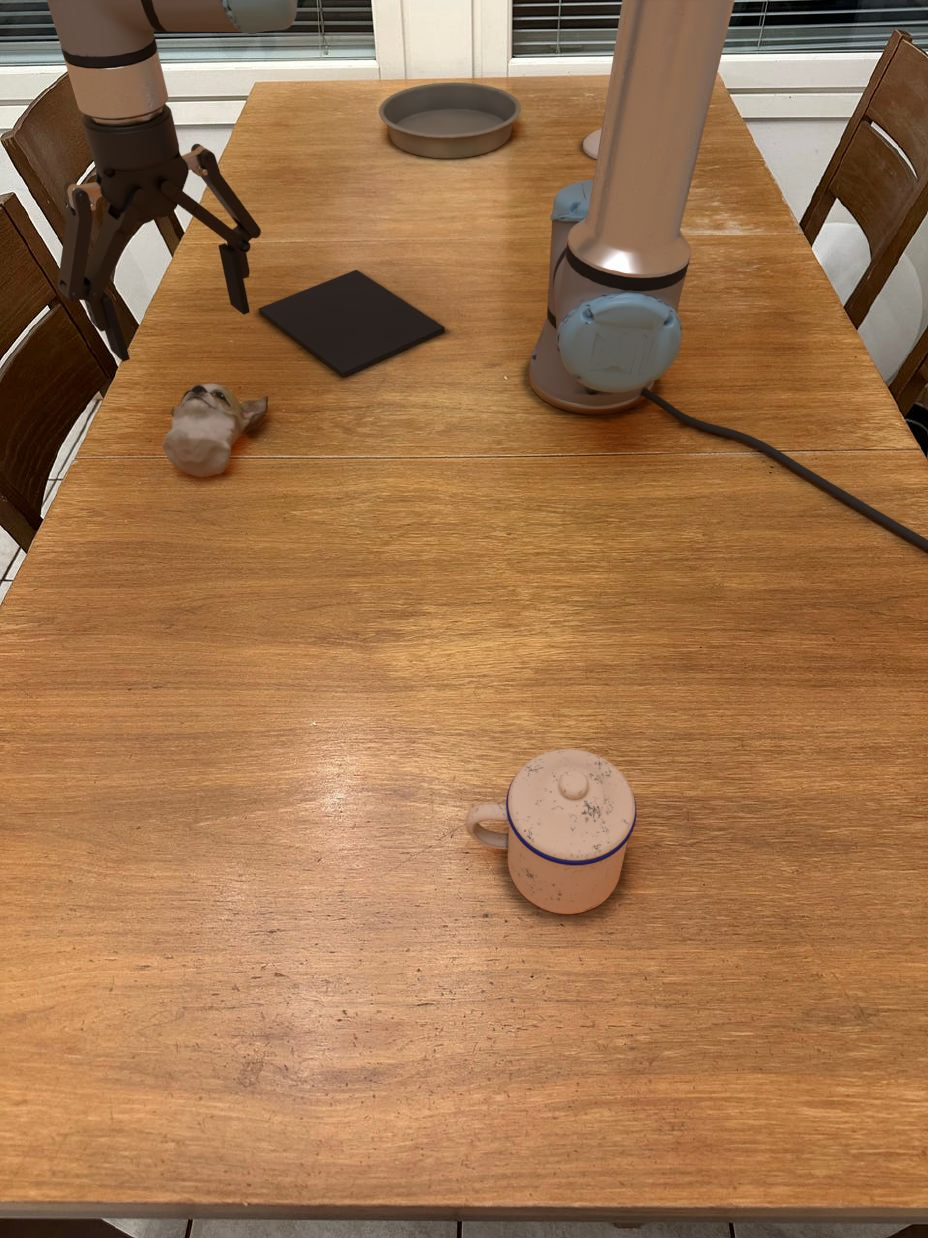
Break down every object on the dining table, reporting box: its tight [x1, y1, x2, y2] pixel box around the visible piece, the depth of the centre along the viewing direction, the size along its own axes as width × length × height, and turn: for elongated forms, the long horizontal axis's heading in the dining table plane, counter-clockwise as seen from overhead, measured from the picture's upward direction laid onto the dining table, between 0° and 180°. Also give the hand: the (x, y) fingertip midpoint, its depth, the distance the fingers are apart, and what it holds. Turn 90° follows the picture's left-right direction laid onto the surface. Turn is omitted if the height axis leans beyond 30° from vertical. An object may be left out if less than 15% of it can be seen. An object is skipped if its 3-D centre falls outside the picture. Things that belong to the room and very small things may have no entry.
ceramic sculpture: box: [161, 382, 269, 478], centre depth 105 cm, size 11×9×15 cm
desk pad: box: [258, 269, 445, 379], centre depth 125 cm, size 20×16×1 cm
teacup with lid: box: [465, 748, 638, 915], centre depth 68 cm, size 12×9×12 cm
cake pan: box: [378, 82, 522, 159], centre depth 165 cm, size 25×25×4 cm
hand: (182, 331), depth 97 cm, fingers open, 13 cm apart
